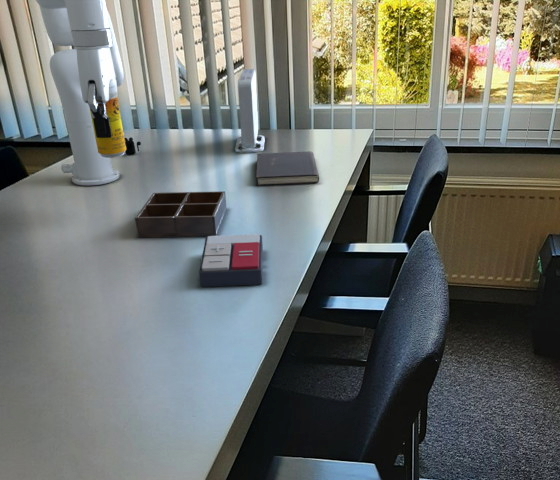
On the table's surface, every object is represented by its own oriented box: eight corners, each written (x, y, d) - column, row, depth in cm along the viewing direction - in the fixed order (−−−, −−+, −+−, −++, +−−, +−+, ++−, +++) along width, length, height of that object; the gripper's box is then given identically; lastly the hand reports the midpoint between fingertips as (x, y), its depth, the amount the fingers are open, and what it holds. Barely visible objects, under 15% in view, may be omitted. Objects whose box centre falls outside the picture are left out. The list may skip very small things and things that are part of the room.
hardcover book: (256, 186, 159) (256, 177, 157) (257, 161, 178) (257, 153, 176) (319, 183, 158) (319, 174, 157) (313, 159, 178) (313, 151, 176)
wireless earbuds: (142, 153, 191) (139, 135, 188) (142, 155, 189) (139, 137, 186) (119, 154, 190) (116, 137, 188) (118, 156, 188) (115, 139, 185)
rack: (138, 237, 132) (134, 218, 129) (155, 210, 146) (153, 192, 143) (216, 236, 130) (214, 216, 128) (226, 209, 144) (225, 191, 142)
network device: (262, 154, 184) (259, 81, 173) (233, 155, 184) (227, 82, 173) (265, 134, 205) (262, 68, 194) (239, 135, 205) (234, 69, 194)
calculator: (198, 268, 108) (205, 232, 120) (201, 290, 111) (207, 253, 123) (261, 266, 108) (261, 230, 120) (262, 287, 110) (263, 251, 123)
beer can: (120, 158, 133) (107, 82, 124) (94, 158, 134) (79, 82, 126) (131, 150, 138) (119, 77, 129) (105, 150, 139) (92, 77, 130)
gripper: (87, 34, 130) (103, 124, 141) (58, 45, 116) (79, 144, 127) (122, 33, 130) (136, 123, 140) (97, 44, 116) (115, 143, 126)
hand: (108, 132), depth 133 cm, fingers closed on beer can, 6 cm apart
